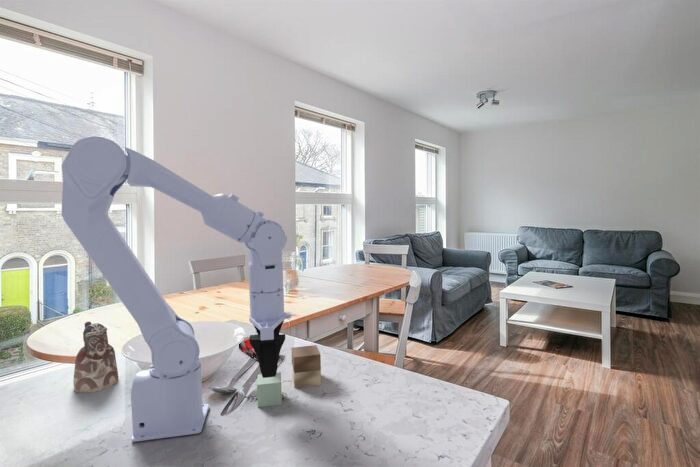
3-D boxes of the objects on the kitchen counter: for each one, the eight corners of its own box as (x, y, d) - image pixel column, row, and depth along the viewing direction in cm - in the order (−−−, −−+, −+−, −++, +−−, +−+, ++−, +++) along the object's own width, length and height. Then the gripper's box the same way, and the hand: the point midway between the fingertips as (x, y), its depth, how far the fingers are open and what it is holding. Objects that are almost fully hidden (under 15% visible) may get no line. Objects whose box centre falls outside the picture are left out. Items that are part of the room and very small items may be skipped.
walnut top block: (294, 373, 69) (293, 357, 69) (291, 362, 74) (291, 347, 74) (320, 369, 70) (320, 354, 70) (316, 359, 75) (316, 345, 75)
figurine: (79, 397, 67) (75, 331, 66) (69, 385, 72) (65, 324, 71) (123, 382, 72) (120, 322, 72) (111, 372, 77) (107, 315, 76)
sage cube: (257, 407, 63) (257, 384, 62) (258, 396, 67) (257, 374, 66) (281, 405, 63) (281, 382, 63) (281, 393, 67) (280, 372, 67)
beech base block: (294, 388, 69) (294, 373, 69) (292, 376, 74) (292, 362, 74) (321, 385, 70) (320, 370, 70) (317, 374, 75) (317, 359, 75)
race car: (235, 348, 90) (234, 332, 90) (256, 343, 94) (256, 327, 94) (258, 365, 80) (258, 347, 80) (281, 358, 83) (280, 341, 83)
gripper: (292, 297, 57) (295, 383, 58) (288, 280, 72) (290, 349, 73) (244, 301, 56) (248, 388, 57) (250, 282, 70) (253, 352, 71)
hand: (269, 366), depth 65 cm, fingers open, 7 cm apart
